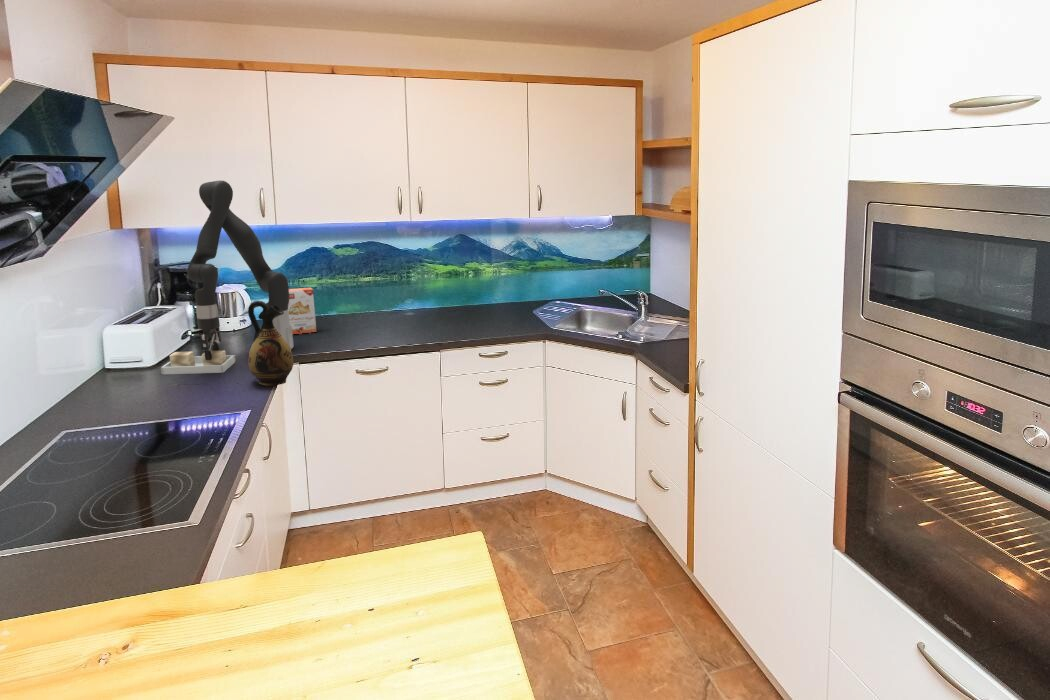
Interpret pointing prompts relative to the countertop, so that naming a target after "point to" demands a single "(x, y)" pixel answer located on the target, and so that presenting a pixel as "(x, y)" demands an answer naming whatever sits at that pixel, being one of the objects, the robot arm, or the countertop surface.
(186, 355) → the tan rounded block
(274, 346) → the ceramic jug
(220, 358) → the orange-label box
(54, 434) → the countertop surface
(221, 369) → the white rectangular tray
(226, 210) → the robot arm
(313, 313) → the cracker box
